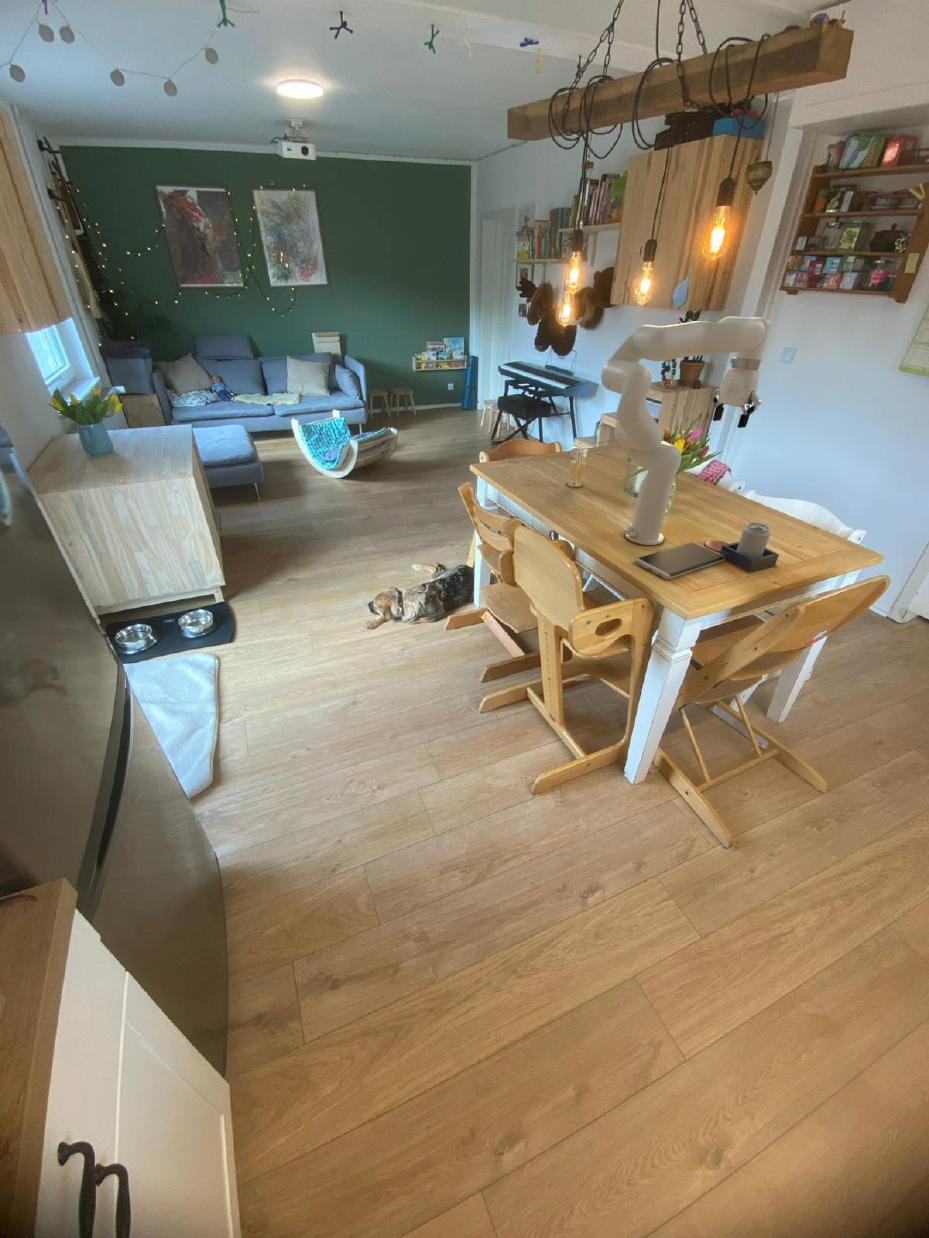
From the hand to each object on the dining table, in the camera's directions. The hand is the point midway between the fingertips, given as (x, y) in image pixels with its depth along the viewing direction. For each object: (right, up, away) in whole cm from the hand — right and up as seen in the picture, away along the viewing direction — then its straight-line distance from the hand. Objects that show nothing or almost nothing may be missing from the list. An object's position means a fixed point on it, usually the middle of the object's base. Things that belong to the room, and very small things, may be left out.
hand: (728, 423), depth 168 cm
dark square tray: (+5, -44, -1) cm, 44 cm away
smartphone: (-17, -45, -3) cm, 48 cm away
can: (+5, -44, -1) cm, 44 cm away
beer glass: (-37, -5, +56) cm, 68 cm away
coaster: (0, -38, +7) cm, 39 cm away
